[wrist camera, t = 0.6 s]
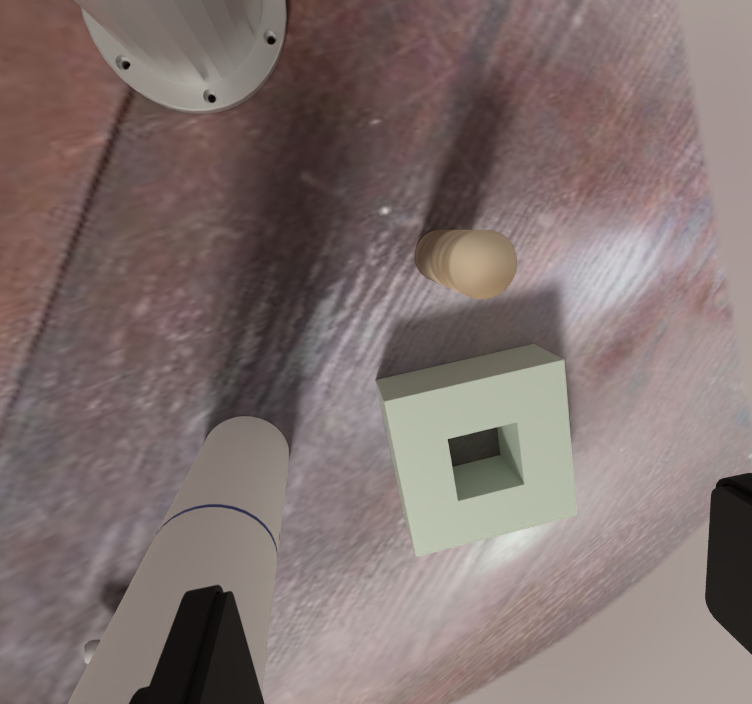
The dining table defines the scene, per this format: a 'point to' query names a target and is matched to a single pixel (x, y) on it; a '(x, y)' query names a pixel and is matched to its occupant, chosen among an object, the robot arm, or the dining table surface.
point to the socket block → (487, 476)
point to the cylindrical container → (201, 558)
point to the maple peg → (467, 261)
